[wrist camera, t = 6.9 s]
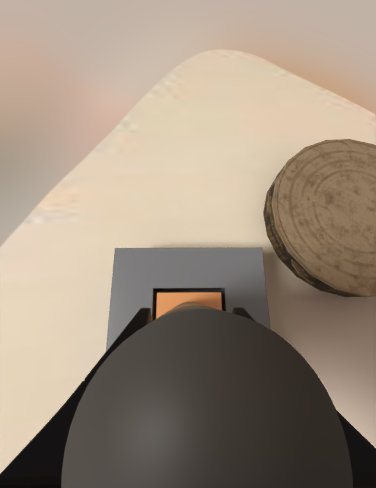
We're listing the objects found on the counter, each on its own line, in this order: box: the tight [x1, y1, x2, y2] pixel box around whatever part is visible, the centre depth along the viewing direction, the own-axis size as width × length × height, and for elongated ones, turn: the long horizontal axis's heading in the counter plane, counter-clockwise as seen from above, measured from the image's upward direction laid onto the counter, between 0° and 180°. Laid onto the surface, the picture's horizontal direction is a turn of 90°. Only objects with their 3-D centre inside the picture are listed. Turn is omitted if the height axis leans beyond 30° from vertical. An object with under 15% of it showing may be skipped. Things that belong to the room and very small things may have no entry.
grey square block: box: [106, 248, 270, 351], centre depth 17 cm, size 12×12×4 cm
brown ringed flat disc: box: [263, 139, 376, 297], centre depth 21 cm, size 16×16×3 cm
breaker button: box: [156, 292, 222, 319], centre depth 17 cm, size 5×5×3 cm
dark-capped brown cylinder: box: [61, 302, 353, 488], centre depth 9 cm, size 4×4×13 cm
